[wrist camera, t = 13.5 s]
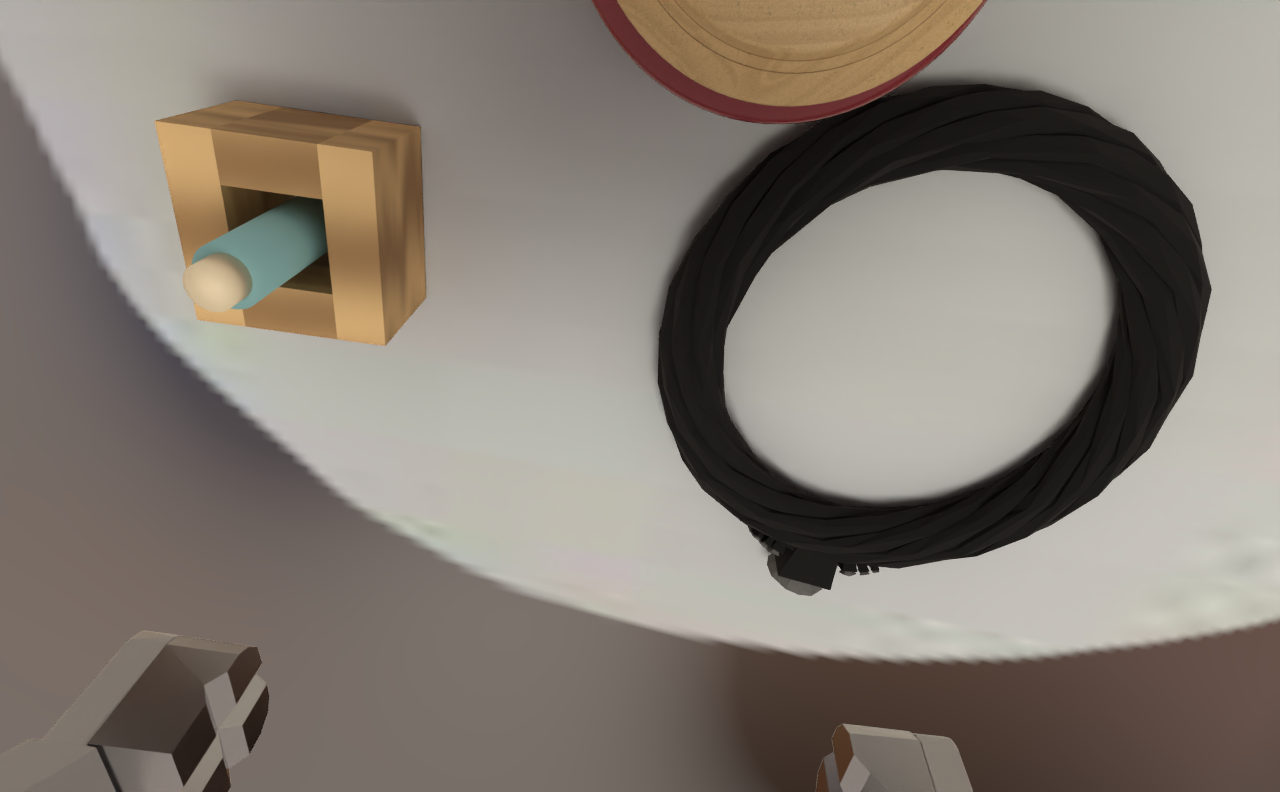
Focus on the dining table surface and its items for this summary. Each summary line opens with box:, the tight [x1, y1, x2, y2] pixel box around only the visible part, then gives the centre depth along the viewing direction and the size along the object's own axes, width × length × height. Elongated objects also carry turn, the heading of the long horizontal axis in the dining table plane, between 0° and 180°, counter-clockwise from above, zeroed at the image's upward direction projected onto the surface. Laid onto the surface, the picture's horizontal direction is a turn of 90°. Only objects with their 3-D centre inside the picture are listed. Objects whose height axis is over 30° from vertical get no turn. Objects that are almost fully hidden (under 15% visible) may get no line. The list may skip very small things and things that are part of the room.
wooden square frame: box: [155, 101, 426, 346], centre depth 34 cm, size 9×9×6 cm
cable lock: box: [658, 84, 1212, 596], centre depth 38 cm, size 28×4×30 cm
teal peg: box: [183, 196, 328, 312], centre depth 32 cm, size 3×3×11 cm
